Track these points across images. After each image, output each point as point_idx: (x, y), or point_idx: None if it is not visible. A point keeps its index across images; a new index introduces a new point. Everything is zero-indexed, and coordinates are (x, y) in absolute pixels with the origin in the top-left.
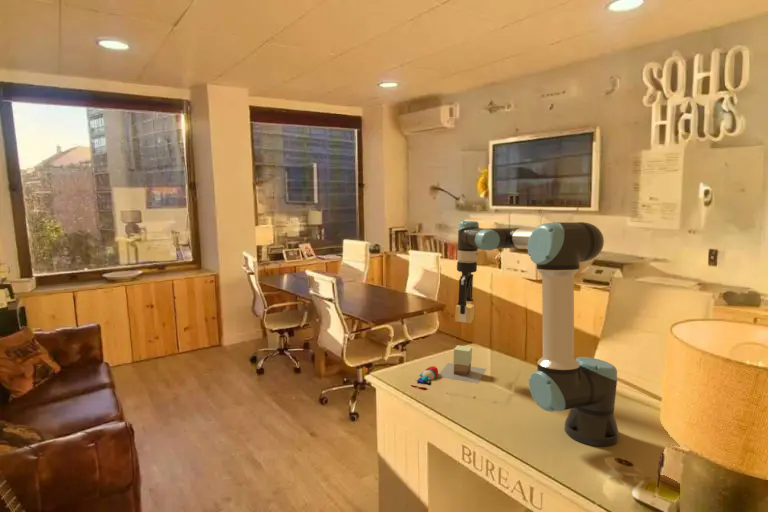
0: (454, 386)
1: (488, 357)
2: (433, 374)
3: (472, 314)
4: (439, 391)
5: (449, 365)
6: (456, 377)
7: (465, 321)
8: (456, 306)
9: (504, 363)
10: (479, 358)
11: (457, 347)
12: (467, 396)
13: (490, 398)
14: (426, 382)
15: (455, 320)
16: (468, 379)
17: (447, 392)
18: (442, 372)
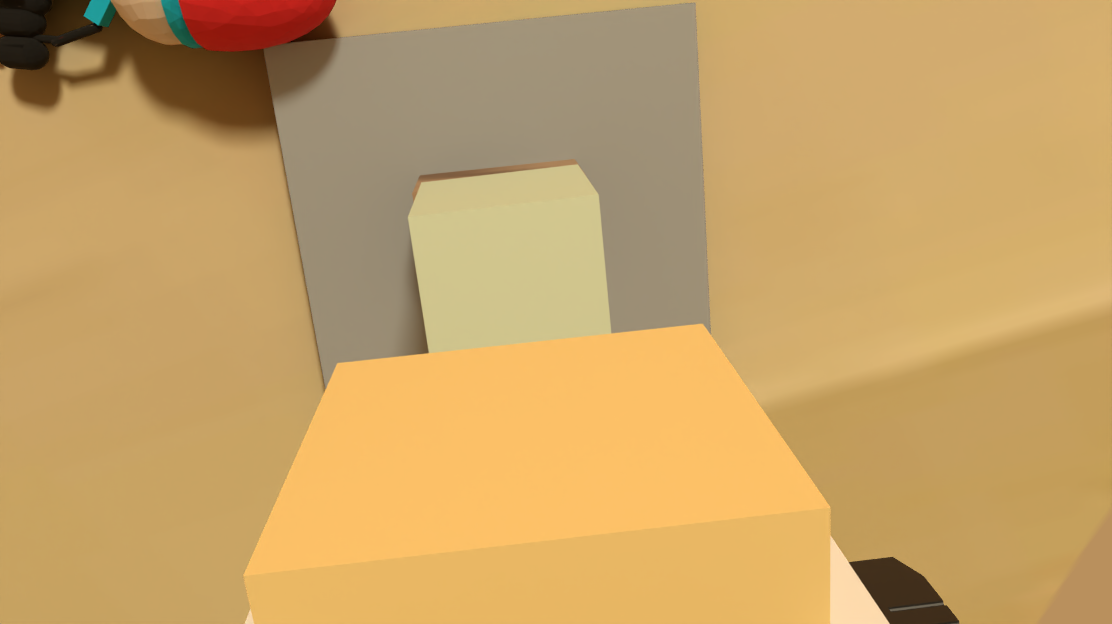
0: (213, 258)
1: (1095, 293)
2: (160, 36)
3: None
4: (17, 179)
5: (627, 47)
6: (351, 230)
7: None
8: (250, 598)
9: (987, 463)
10: (1034, 225)
11: (506, 232)
12: (85, 424)
13: (170, 580)
14: (6, 21)
15: (334, 379)
16: (370, 344)
17: (47, 251)
18: (395, 55)
